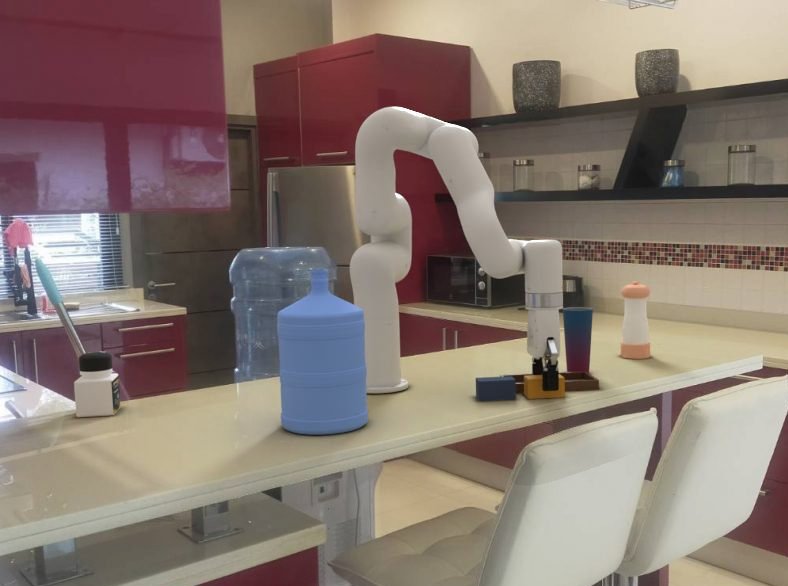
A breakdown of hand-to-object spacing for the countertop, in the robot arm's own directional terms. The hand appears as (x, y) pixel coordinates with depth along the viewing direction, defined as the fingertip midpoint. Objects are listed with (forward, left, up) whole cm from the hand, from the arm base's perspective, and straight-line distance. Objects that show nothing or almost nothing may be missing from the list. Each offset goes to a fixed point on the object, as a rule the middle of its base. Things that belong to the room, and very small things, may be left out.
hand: (545, 385), depth 176 cm
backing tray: (+3, +9, -2) cm, 9 cm away
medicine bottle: (-89, +3, -2) cm, 89 cm away
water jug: (-44, -16, -2) cm, 47 cm away
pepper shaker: (+33, +41, -2) cm, 52 cm away
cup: (+13, +22, -2) cm, 25 cm away
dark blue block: (-10, 0, -2) cm, 10 cm away
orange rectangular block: (0, 0, -2) cm, 2 cm away
